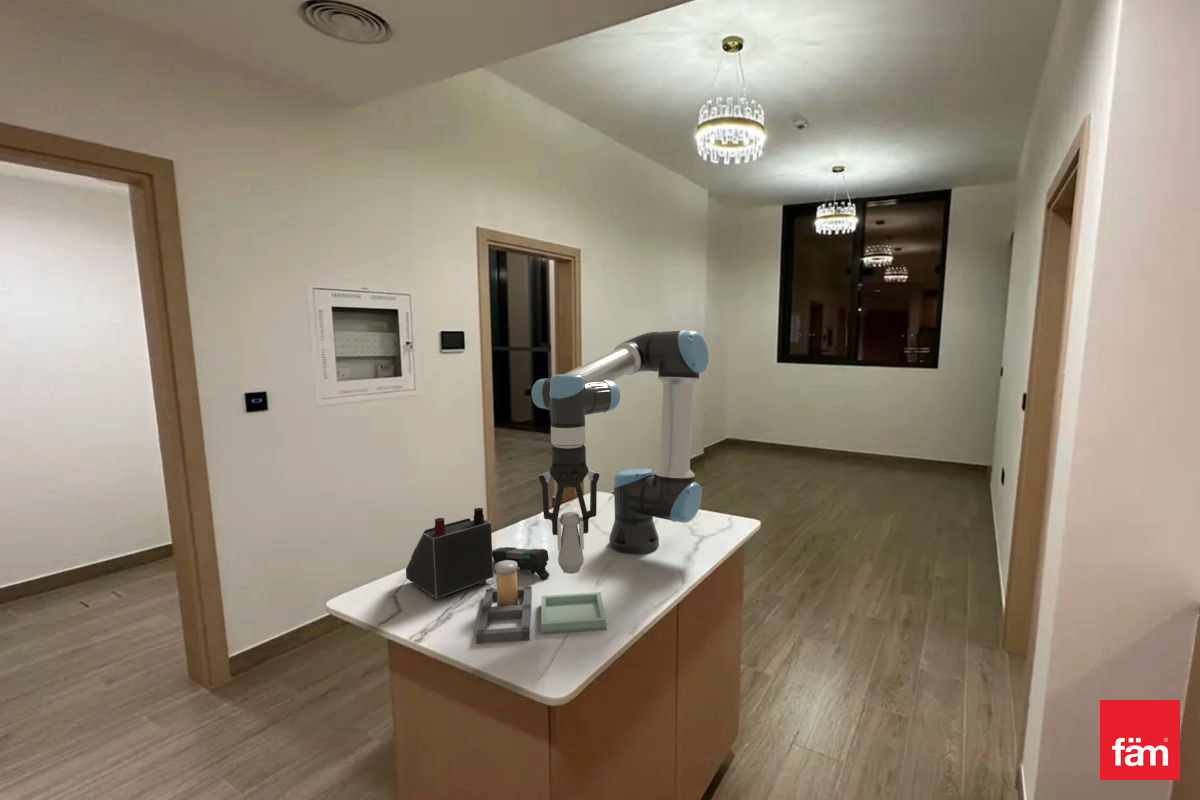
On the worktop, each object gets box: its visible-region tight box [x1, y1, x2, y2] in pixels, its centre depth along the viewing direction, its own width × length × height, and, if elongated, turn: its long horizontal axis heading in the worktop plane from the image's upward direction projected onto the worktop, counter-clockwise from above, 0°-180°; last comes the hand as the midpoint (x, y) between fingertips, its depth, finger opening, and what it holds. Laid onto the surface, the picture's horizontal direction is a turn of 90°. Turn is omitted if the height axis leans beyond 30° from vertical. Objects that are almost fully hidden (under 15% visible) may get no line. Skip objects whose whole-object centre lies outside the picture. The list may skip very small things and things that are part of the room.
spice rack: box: [475, 560, 533, 645], centre depth 122 cm, size 11×21×10 cm, turn 6°
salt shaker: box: [557, 511, 585, 575], centre depth 120 cm, size 6×6×13 cm
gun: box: [492, 546, 550, 581], centre depth 149 cm, size 4×20×10 cm, turn 50°
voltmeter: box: [405, 507, 494, 601], centre depth 140 cm, size 16×16×20 cm
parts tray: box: [540, 591, 608, 635], centre depth 122 cm, size 14×13×2 cm
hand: (570, 547), depth 120 cm, fingers closed on salt shaker, 4 cm apart
